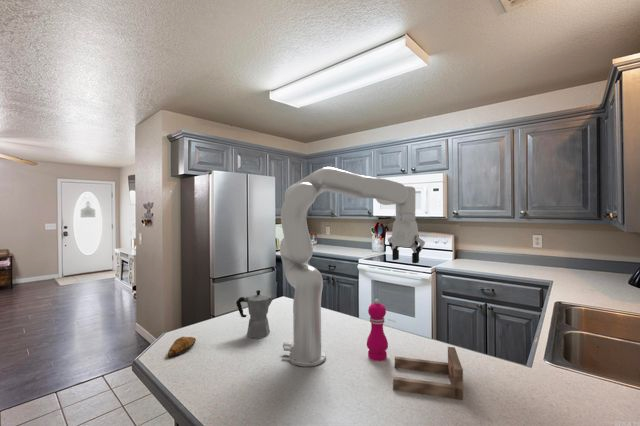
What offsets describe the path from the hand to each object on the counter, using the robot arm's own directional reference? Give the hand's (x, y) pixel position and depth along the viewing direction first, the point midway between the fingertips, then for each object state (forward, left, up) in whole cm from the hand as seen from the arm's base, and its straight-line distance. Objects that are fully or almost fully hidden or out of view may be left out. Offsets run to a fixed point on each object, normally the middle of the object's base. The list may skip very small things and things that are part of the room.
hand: (405, 261), depth 119 cm
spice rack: (+6, -30, -31) cm, 43 cm away
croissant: (-78, -31, -31) cm, 90 cm away
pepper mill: (-9, -18, -31) cm, 37 cm away
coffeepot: (-59, -11, -31) cm, 68 cm away
